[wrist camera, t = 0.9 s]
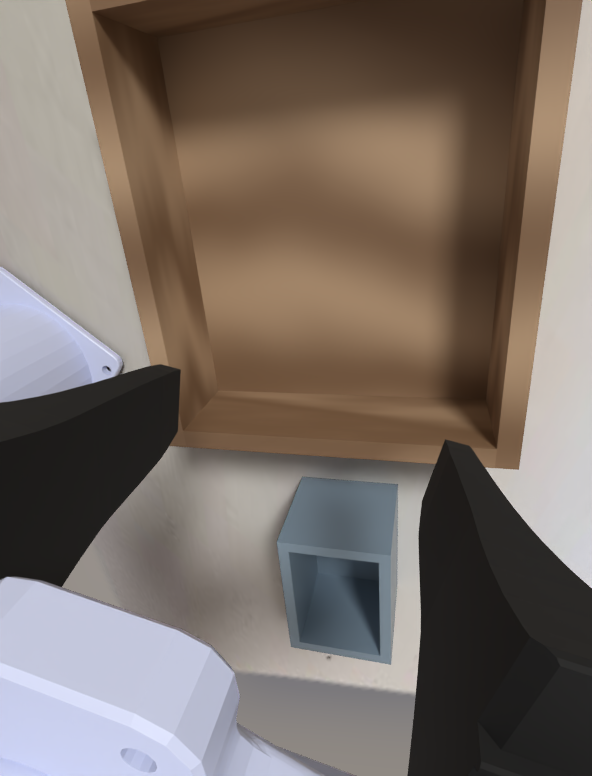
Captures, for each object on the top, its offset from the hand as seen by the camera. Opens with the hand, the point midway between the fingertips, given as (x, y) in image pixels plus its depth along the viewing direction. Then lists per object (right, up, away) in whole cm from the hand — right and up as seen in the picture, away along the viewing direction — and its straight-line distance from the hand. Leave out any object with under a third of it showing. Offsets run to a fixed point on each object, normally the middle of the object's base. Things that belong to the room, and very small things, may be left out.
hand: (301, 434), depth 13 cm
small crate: (+3, -7, +14) cm, 16 cm away
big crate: (+2, +8, +7) cm, 10 cm away
